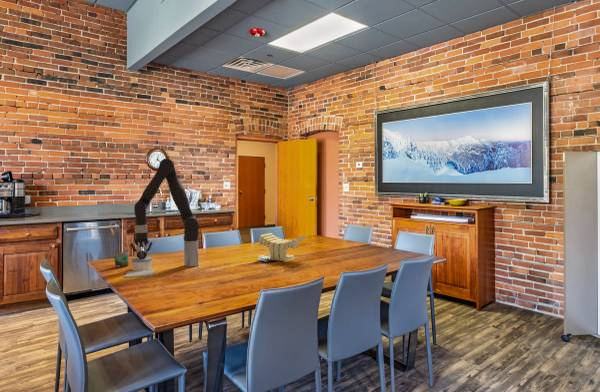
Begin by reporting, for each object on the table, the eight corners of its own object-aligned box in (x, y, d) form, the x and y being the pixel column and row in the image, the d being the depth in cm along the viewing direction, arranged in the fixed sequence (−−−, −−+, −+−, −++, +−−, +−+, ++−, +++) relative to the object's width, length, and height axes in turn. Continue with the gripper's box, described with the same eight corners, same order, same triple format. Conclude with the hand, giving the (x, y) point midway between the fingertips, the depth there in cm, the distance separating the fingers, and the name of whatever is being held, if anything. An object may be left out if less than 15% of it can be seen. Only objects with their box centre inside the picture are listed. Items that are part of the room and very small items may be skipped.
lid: (153, 257, 248) (153, 248, 248) (150, 261, 236) (150, 252, 236) (133, 258, 245) (133, 249, 244) (129, 262, 233) (129, 253, 232)
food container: (122, 268, 241) (121, 253, 241) (113, 268, 243) (113, 253, 242) (134, 264, 253) (133, 250, 253) (126, 264, 255) (125, 249, 254)
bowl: (152, 266, 247) (152, 257, 247) (149, 270, 237) (149, 261, 236) (134, 267, 245) (134, 258, 244) (131, 271, 234) (131, 262, 234)
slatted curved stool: (259, 259, 270) (259, 235, 269) (271, 255, 284) (271, 232, 283) (294, 264, 255) (294, 238, 254) (305, 259, 269) (305, 235, 268)
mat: (155, 270, 236) (155, 269, 236) (152, 275, 225) (152, 274, 225) (128, 272, 232) (128, 271, 232) (124, 277, 221) (124, 276, 220)
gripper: (153, 230, 245) (154, 256, 246) (130, 231, 241) (131, 257, 242) (152, 232, 238) (152, 258, 238) (128, 232, 234) (129, 259, 235)
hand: (141, 257), depth 240 cm, fingers closed on lid, 3 cm apart
